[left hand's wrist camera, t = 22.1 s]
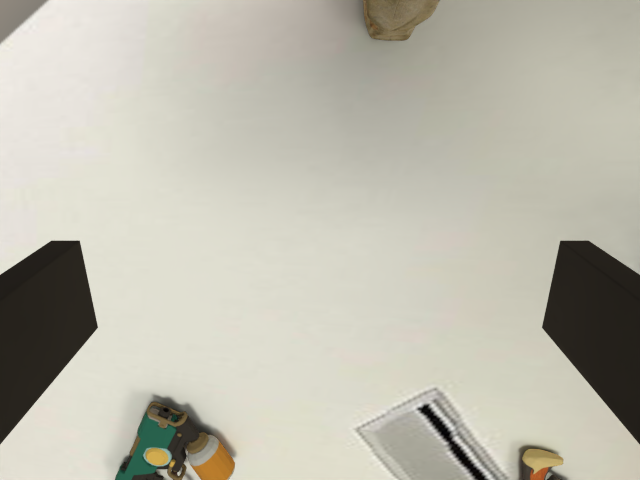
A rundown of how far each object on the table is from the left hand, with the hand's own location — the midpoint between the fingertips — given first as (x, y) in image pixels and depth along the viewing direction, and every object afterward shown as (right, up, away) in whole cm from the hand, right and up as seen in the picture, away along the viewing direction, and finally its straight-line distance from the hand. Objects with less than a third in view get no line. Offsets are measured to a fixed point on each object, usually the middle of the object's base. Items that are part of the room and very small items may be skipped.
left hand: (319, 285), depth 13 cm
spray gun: (-19, -27, +46) cm, 57 cm away
